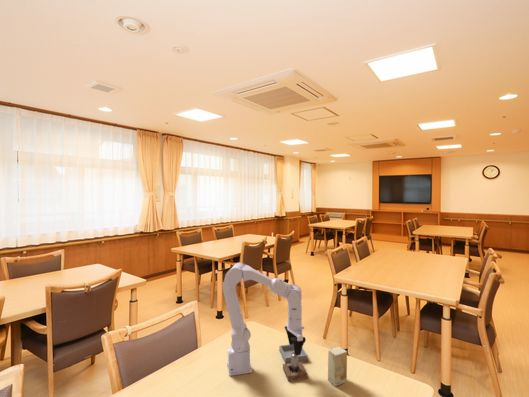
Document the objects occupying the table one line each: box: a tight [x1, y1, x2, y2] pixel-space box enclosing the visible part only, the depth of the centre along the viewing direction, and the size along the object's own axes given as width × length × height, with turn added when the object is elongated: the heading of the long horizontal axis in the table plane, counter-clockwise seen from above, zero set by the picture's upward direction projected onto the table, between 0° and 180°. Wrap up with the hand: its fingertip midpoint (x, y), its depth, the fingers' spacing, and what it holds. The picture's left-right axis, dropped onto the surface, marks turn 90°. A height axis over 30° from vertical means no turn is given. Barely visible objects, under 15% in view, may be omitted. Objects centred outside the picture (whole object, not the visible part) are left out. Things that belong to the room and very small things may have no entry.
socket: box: [282, 362, 308, 382], centre depth 116 cm, size 8×8×2 cm
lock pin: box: [290, 352, 299, 373], centre depth 116 cm, size 3×3×8 cm
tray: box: [278, 343, 308, 364], centre depth 129 cm, size 10×10×2 cm
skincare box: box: [327, 346, 348, 387], centre depth 111 cm, size 6×4×12 cm
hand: (294, 349), depth 116 cm, fingers open, 7 cm apart
